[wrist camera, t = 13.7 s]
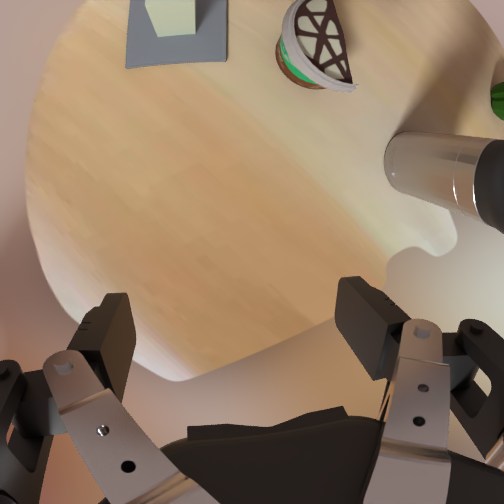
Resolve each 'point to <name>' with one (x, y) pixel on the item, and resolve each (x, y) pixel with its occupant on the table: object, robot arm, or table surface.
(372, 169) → the table surface
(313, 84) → the food container
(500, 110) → the bell pepper
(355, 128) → the table surface
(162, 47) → the plate
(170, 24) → the sage block
